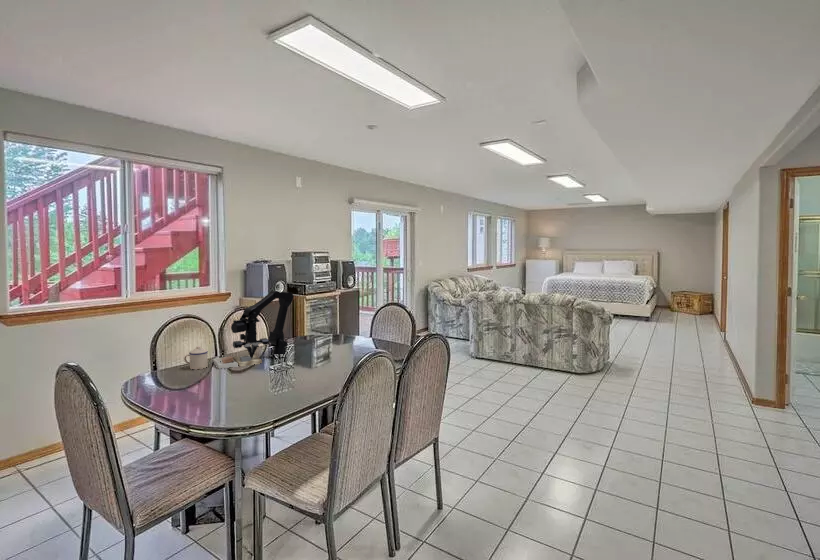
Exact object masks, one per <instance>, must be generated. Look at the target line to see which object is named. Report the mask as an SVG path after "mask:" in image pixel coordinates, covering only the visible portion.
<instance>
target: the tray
mask: <svg viewBox="0 0 820 560" xmlns="http://www.w3.org/2000/svg"><path fill="white" fill-rule="evenodd" d="M225 357H226V356H224V357H217V358H215V357H214V358H212V359H213V360H212V363H213V362H214V363H213V365H214V364H215V365H216V366H217V367H218V368H219V369H218V368H217V367H216V366H215V365H214V366H215V367H216V368H217V369H218V370H221V369H220V368H226V369H230V368H229V367H233V368H239V366H238V363H237V362H236V361H235V360H234V361H232V362H228V363H225V364H224V363H223V362H222V358H225ZM220 361H221V363H220ZM218 362H219V363H218Z"/></svg>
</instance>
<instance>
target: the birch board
mask: <svg viewBox="0 0 820 560" xmlns="http://www.w3.org/2000/svg"><path fill="white" fill-rule="evenodd" d="M241 356H242V355H240V356H232V357H233V360H235V361H236V362H237V363H238V365H239V366H241V367H247V366H246V365H248V366H254V364H255V365H261V364H260V363H262V364H263V361H262V359H261V358H259V356H257V355H256V354H254V355H253V358H251V361H246V362H241V361H240V357H241ZM246 356H250V355H249V354H248V355H246ZM239 366H238V367H239Z"/></svg>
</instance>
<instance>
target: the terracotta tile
mask: <svg viewBox="0 0 820 560" xmlns="http://www.w3.org/2000/svg"><path fill="white" fill-rule="evenodd" d="M224 357H225V358H223V357H221V358H222V362H223V363H224V364H225V363H228V362H232V361H234V360H233V357H234V356H232V355H230V356H224Z"/></svg>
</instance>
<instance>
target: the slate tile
mask: <svg viewBox="0 0 820 560" xmlns="http://www.w3.org/2000/svg"><path fill="white" fill-rule="evenodd" d="M240 356H241V357H240V361H241V362H246V361H251V357H250V356H247V355H240Z"/></svg>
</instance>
